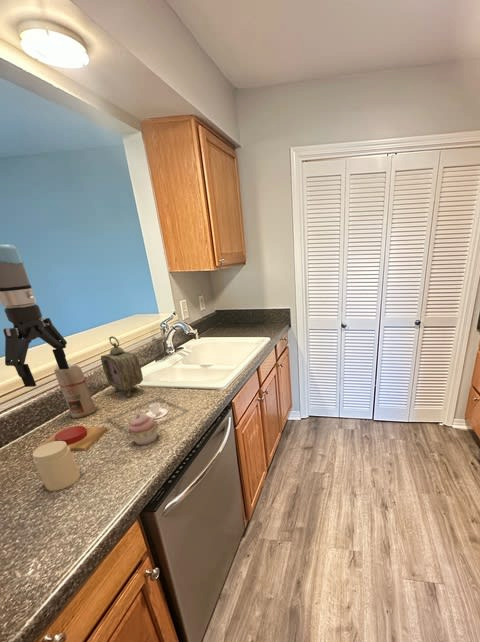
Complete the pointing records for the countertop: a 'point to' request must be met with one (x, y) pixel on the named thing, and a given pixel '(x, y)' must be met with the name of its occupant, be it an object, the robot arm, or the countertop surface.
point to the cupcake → (143, 429)
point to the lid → (71, 434)
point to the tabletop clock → (121, 368)
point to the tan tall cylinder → (75, 391)
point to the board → (85, 442)
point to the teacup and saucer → (156, 411)
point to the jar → (56, 465)
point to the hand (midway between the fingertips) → (48, 377)
